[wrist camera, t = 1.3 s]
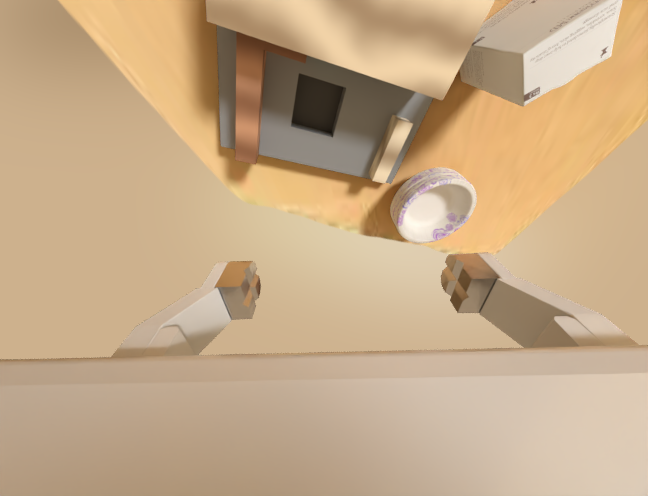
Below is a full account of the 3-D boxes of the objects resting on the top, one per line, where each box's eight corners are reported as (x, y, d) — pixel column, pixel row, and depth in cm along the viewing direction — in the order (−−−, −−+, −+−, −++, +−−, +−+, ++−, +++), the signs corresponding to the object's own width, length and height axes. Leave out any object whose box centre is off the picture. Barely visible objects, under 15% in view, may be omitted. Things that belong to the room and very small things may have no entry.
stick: (392, 114, 36) (398, 119, 34) (406, 118, 37) (413, 124, 35) (368, 173, 43) (372, 180, 41) (380, 176, 43) (384, 183, 41)
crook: (242, 18, 28) (236, 16, 25) (307, 41, 30) (309, 42, 27) (240, 150, 38) (235, 160, 35) (288, 161, 40) (287, 171, 37)
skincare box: (514, -3, 30) (634, -22, 20) (516, 48, 34) (618, 55, 23) (450, 44, 33) (524, 50, 22) (458, 86, 37) (525, 109, 26)
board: (217, -132, 22) (211, -146, 21) (474, -7, 30) (486, -9, 28) (224, 140, 39) (220, 146, 37) (387, 177, 47) (391, 183, 45)
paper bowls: (427, 228, 57) (442, 250, 51) (373, 214, 53) (383, 237, 47) (472, 171, 47) (497, 191, 42) (410, 149, 43) (428, 167, 37)
